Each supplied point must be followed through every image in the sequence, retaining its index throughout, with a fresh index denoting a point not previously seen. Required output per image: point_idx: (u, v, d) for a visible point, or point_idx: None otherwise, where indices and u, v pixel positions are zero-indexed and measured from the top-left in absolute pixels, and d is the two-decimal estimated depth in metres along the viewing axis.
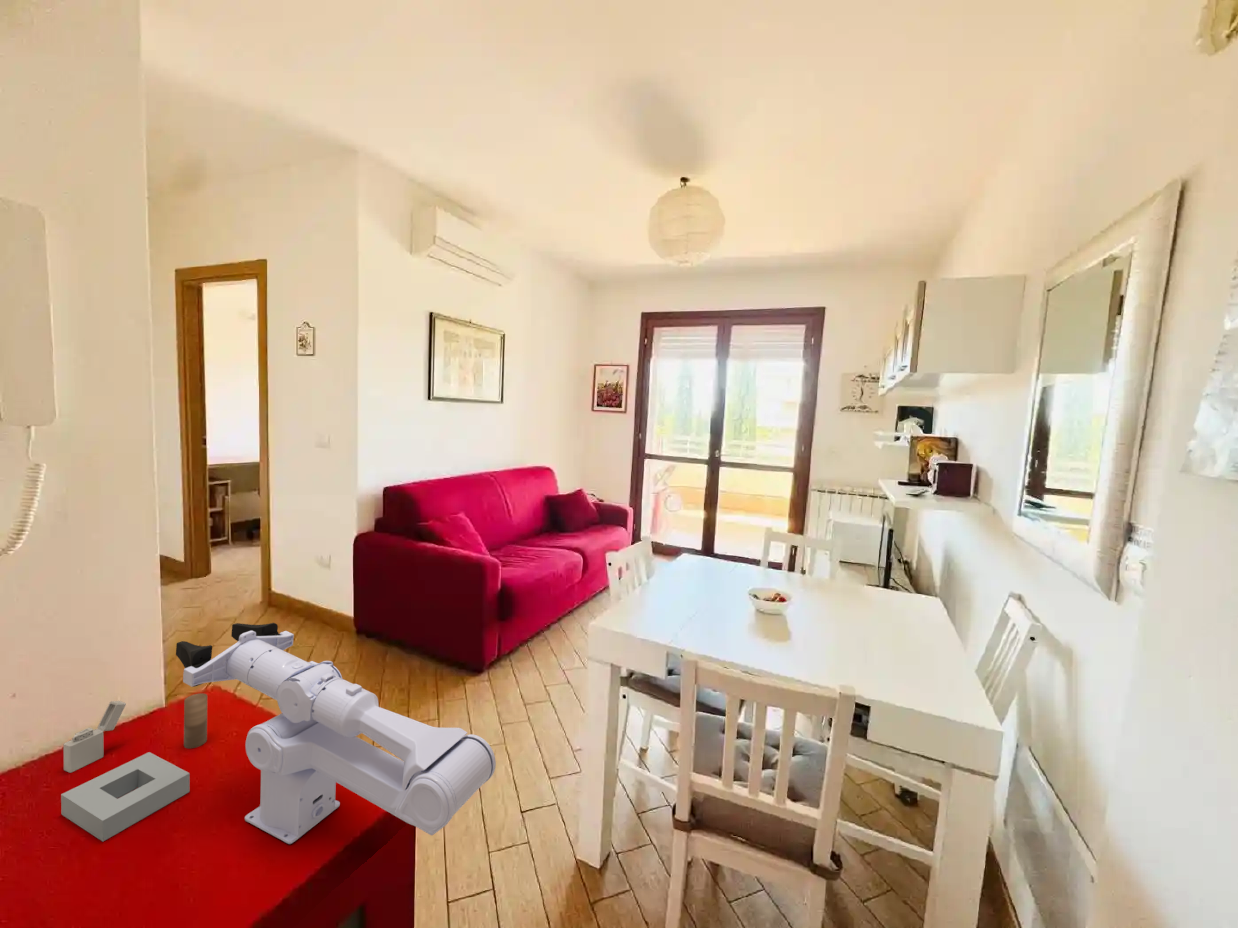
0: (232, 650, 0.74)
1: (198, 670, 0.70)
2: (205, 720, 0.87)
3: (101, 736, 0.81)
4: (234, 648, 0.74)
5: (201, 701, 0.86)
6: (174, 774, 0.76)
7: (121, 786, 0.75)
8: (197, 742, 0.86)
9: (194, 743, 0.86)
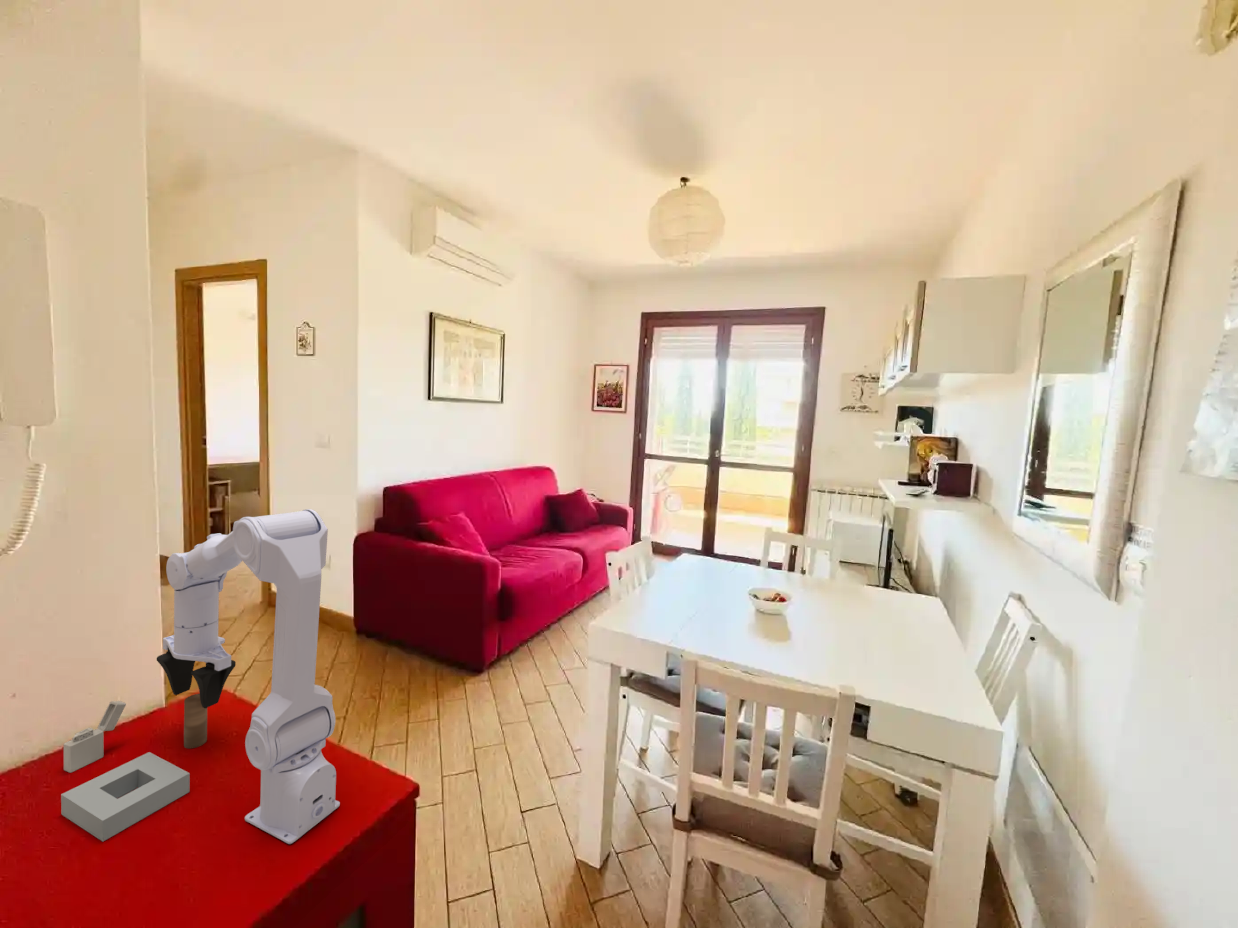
0: None
1: None
2: (205, 720, 0.87)
3: (101, 736, 0.81)
4: None
5: None
6: (174, 774, 0.76)
7: (121, 786, 0.75)
8: (197, 742, 0.86)
9: (194, 743, 0.86)
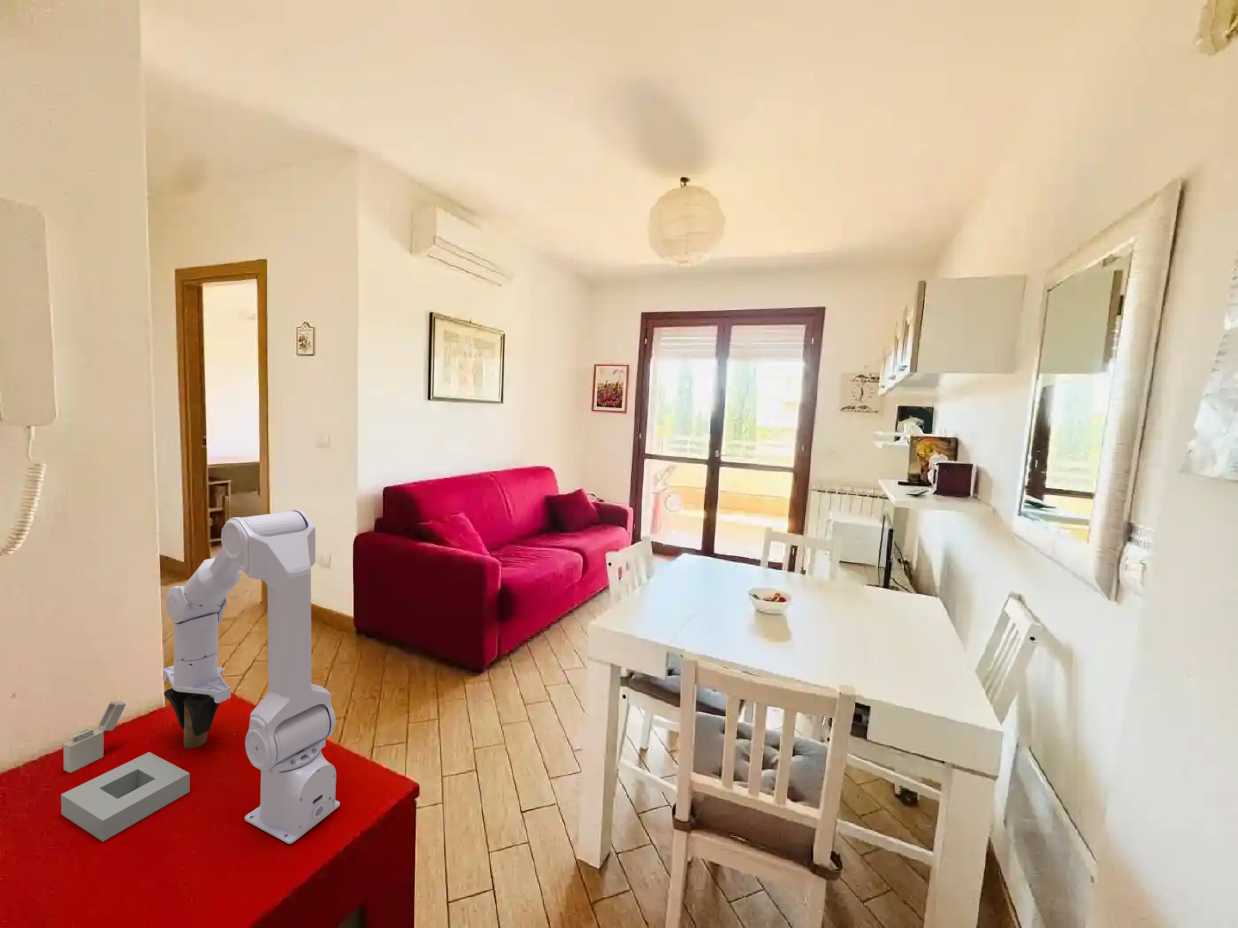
0: None
1: None
2: None
3: (101, 736, 0.81)
4: None
5: None
6: (174, 774, 0.76)
7: (121, 786, 0.75)
8: (197, 742, 0.86)
9: (194, 743, 0.86)
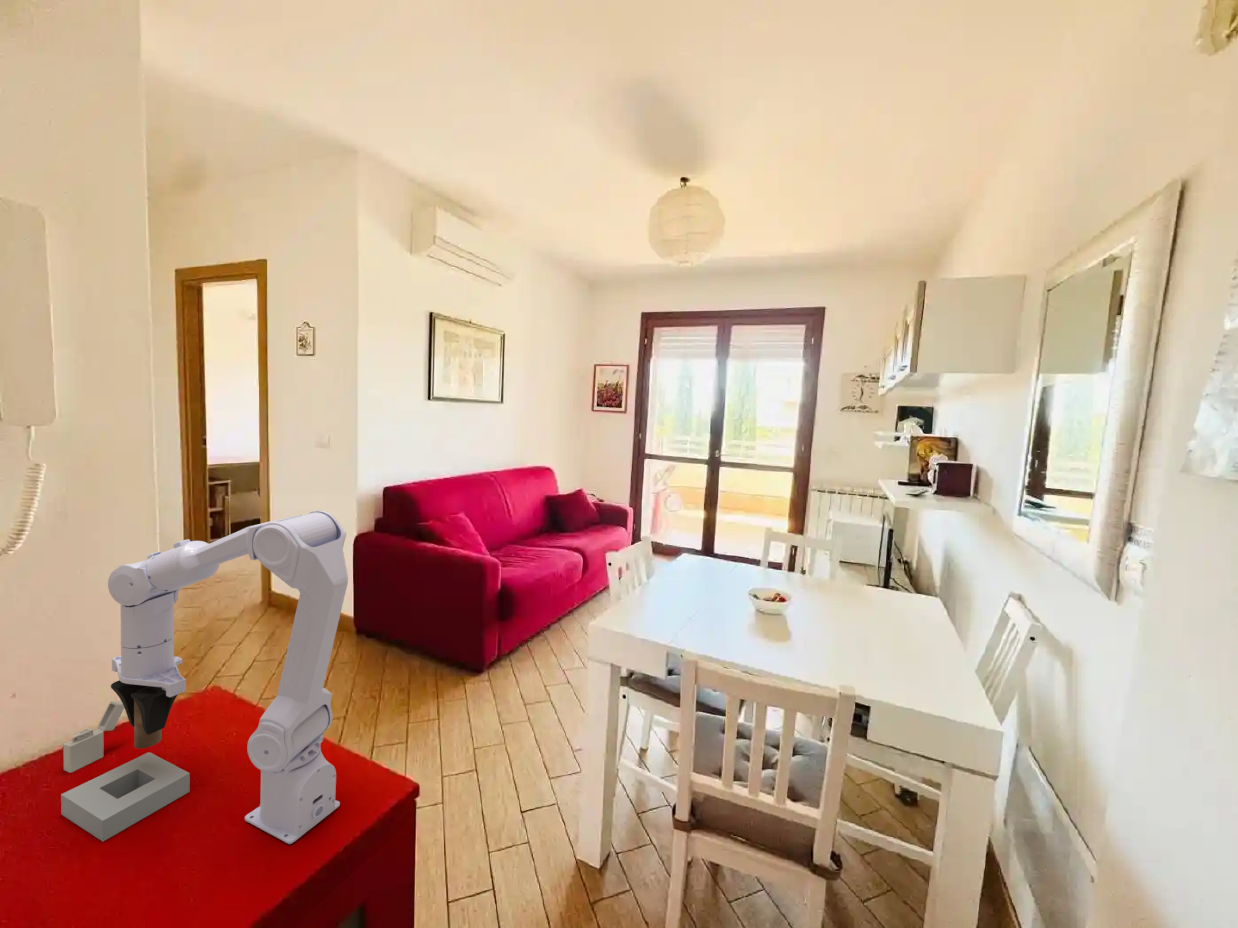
0: None
1: None
2: None
3: (101, 736, 0.81)
4: None
5: None
6: (174, 774, 0.76)
7: (121, 786, 0.75)
8: (149, 741, 0.75)
9: (145, 743, 0.75)
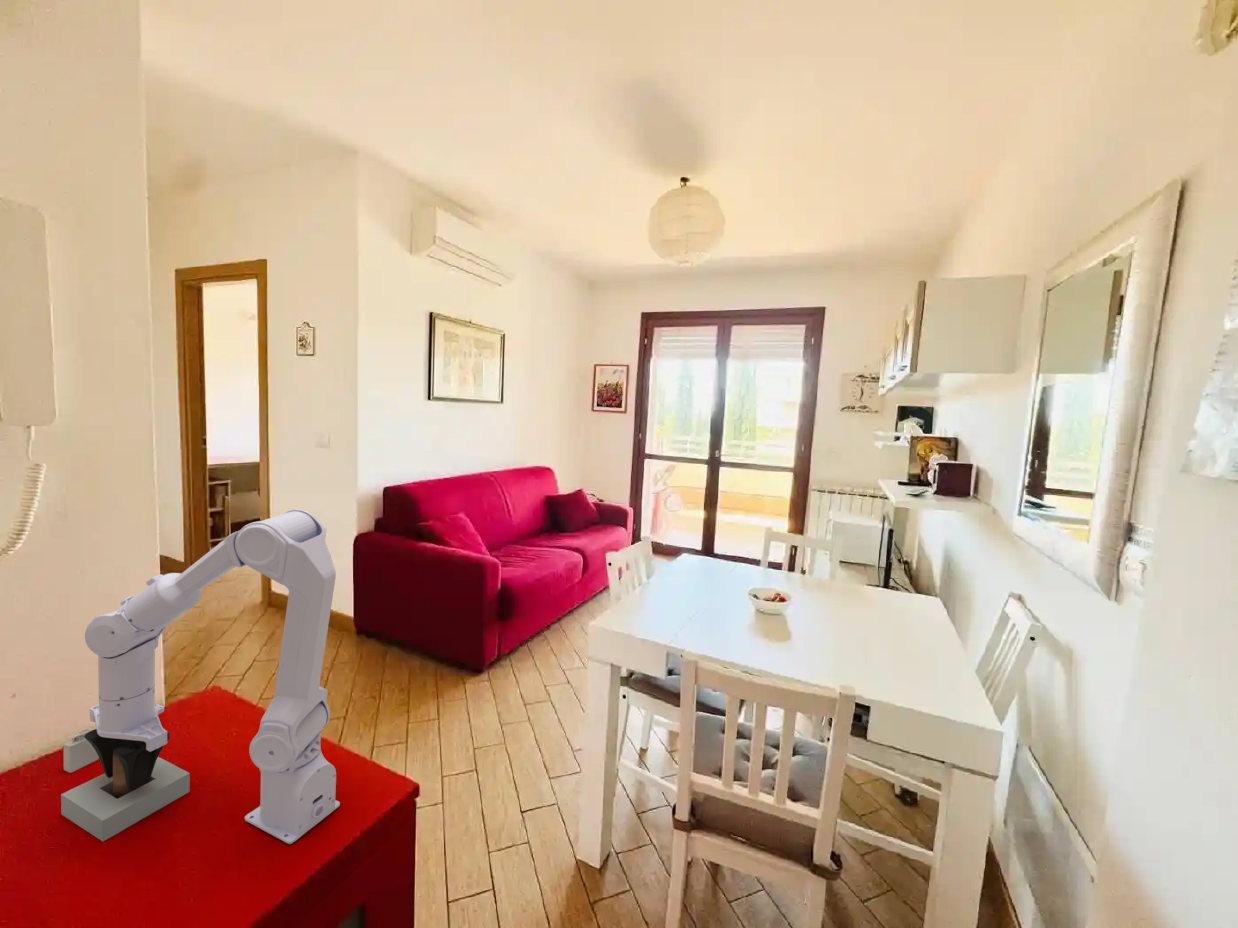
0: None
1: None
2: None
3: None
4: None
5: None
6: (174, 774, 0.76)
7: None
8: None
9: None
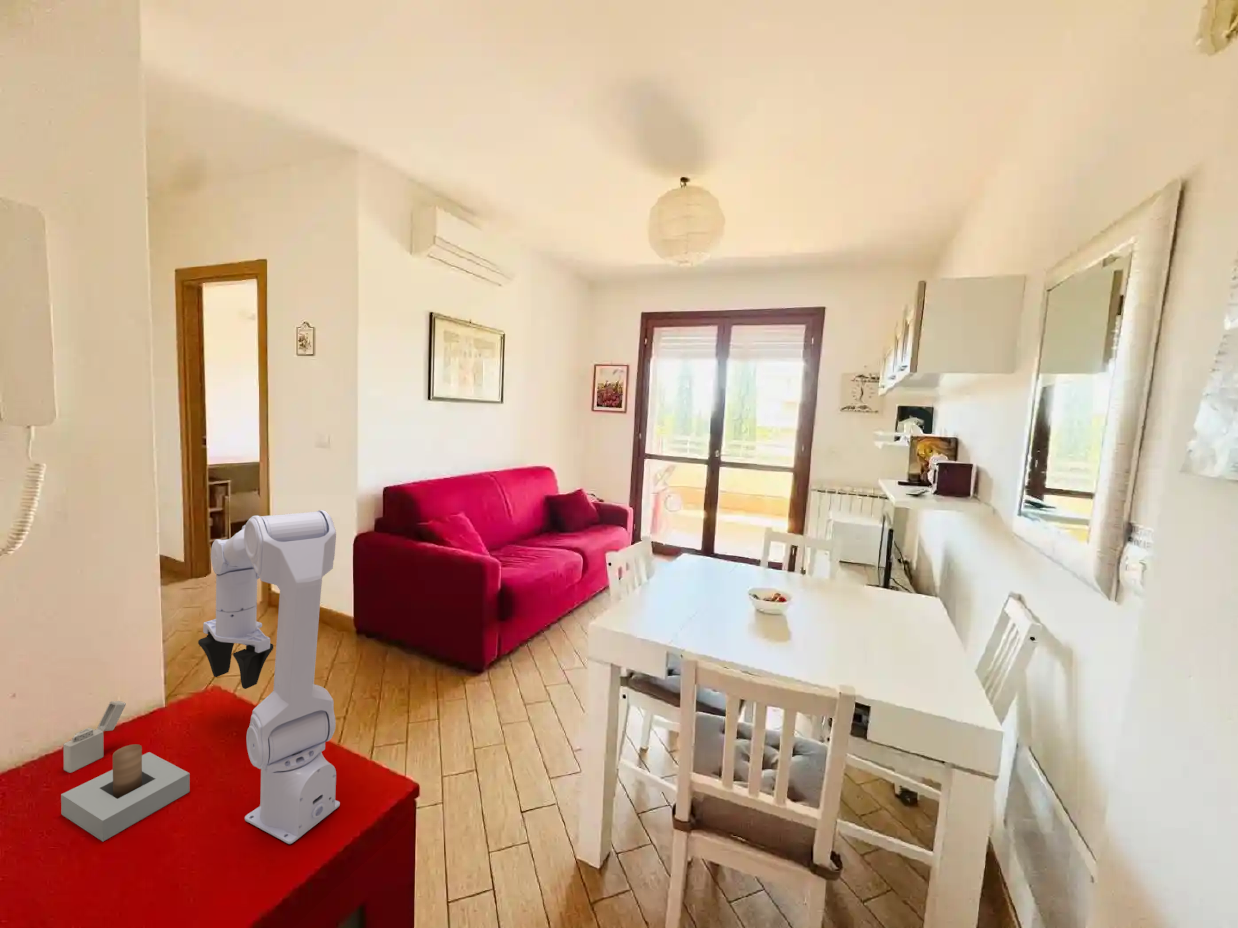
0: None
1: None
2: (138, 776, 0.73)
3: (101, 736, 0.81)
4: None
5: (133, 755, 0.72)
6: (174, 774, 0.76)
7: None
8: None
9: None
